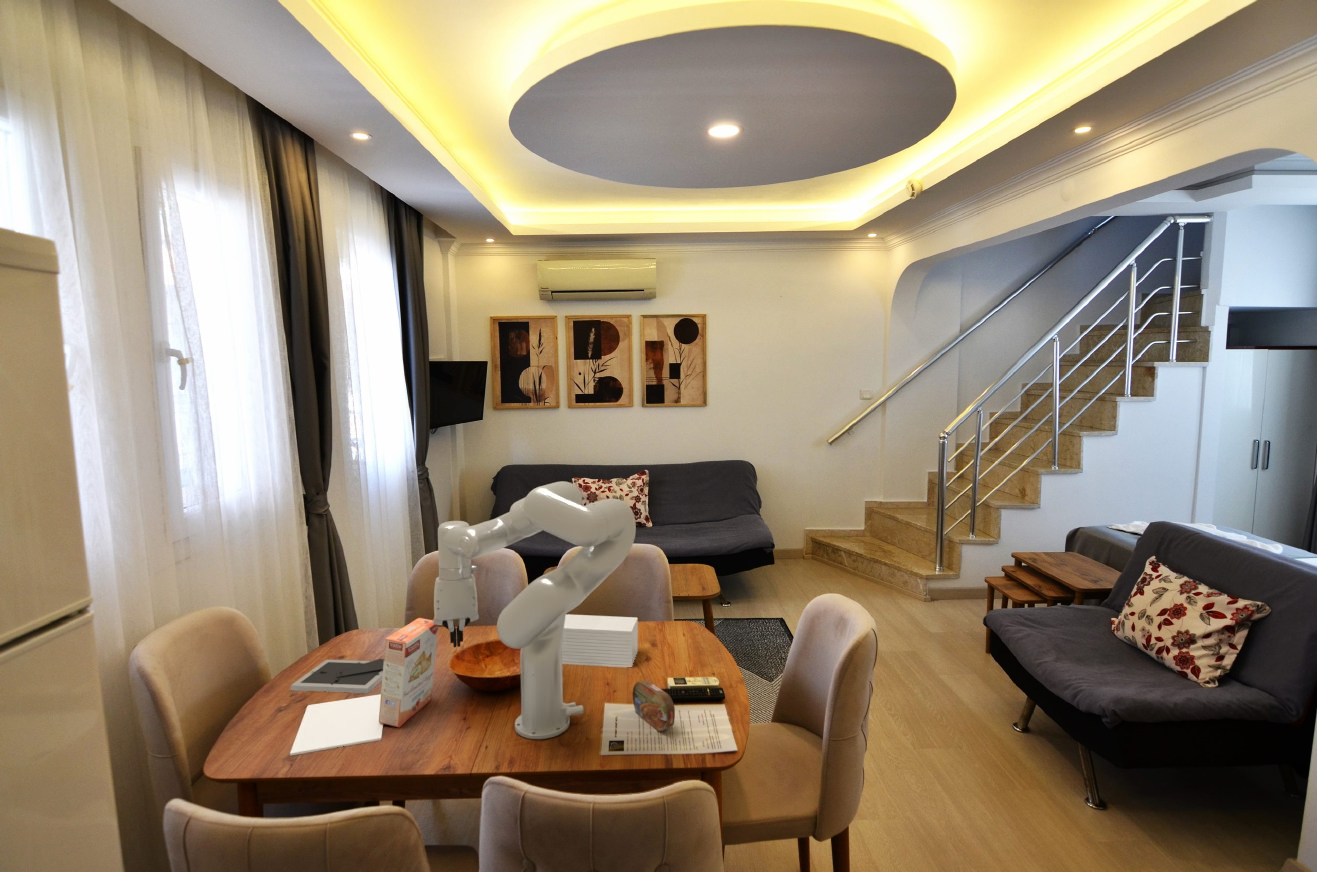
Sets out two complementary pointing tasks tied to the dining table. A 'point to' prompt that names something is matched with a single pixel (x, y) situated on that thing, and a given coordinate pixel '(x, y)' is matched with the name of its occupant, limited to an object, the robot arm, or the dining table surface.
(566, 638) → the stack of papers
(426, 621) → the cracker box
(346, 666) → the picture frame
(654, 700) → the tin
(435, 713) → the dining table surface
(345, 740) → the white flat panel
